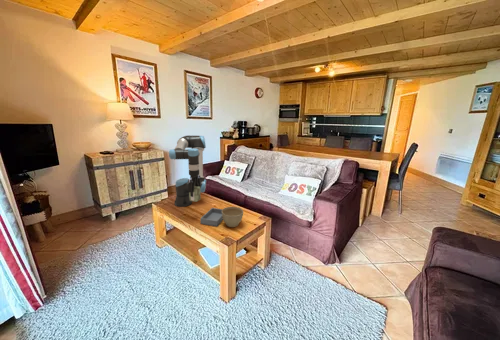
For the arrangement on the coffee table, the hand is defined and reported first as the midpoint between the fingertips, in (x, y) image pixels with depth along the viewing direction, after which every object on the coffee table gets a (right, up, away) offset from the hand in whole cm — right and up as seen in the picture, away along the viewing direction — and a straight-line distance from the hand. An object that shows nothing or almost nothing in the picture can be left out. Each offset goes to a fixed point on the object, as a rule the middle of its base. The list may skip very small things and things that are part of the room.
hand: (195, 198), depth 155 cm
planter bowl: (+29, -19, -2) cm, 35 cm away
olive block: (0, -1, 0) cm, 1 cm away
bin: (+14, -17, +4) cm, 22 cm away
